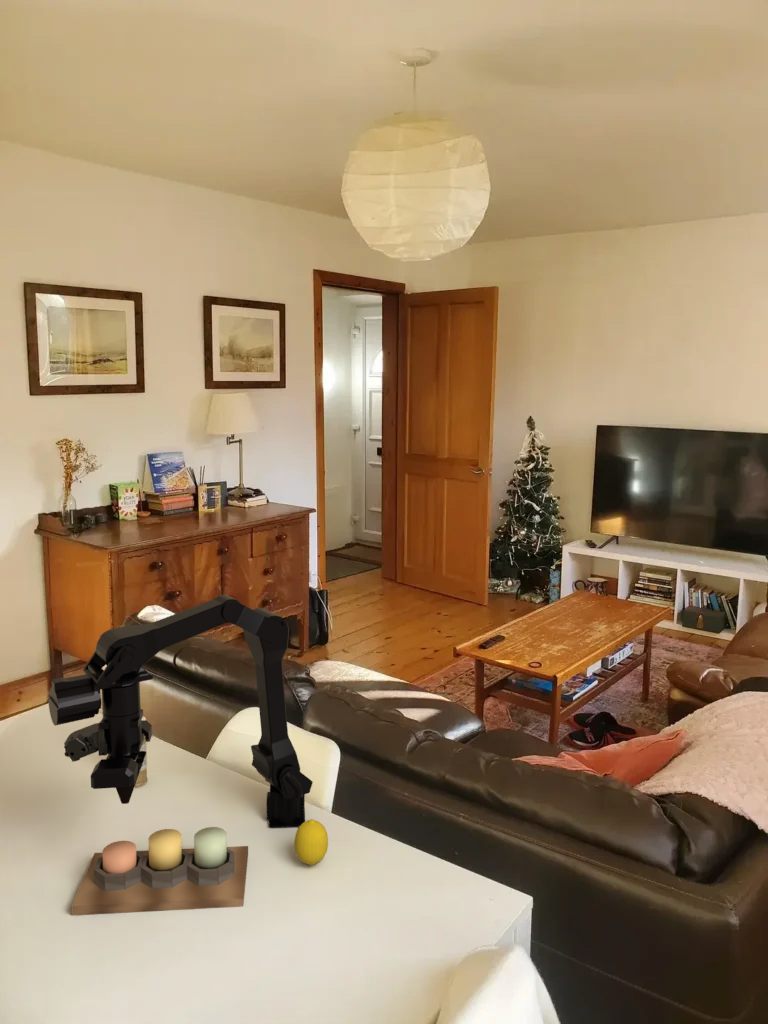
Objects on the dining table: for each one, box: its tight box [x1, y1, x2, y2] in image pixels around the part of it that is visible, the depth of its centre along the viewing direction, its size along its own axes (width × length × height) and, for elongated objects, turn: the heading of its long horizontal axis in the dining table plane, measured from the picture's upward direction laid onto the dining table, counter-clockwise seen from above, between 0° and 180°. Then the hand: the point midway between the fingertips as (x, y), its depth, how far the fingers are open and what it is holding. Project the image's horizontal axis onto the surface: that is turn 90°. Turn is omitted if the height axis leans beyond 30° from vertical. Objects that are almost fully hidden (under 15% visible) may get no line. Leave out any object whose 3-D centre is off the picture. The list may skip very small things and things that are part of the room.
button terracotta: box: [102, 840, 137, 874], centre depth 124 cm, size 5×5×4 cm
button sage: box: [193, 826, 228, 868], centre depth 125 cm, size 5×5×4 cm
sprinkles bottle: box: [135, 715, 148, 788], centre depth 157 cm, size 5×5×13 cm
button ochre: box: [148, 828, 183, 870], centre depth 125 cm, size 5×5×4 cm
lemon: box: [294, 818, 329, 867], centre depth 130 cm, size 6×6×8 cm
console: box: [71, 845, 249, 916], centre depth 125 cm, size 25×14×4 cm, turn 97°
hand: (125, 802), depth 127 cm, fingers closed
